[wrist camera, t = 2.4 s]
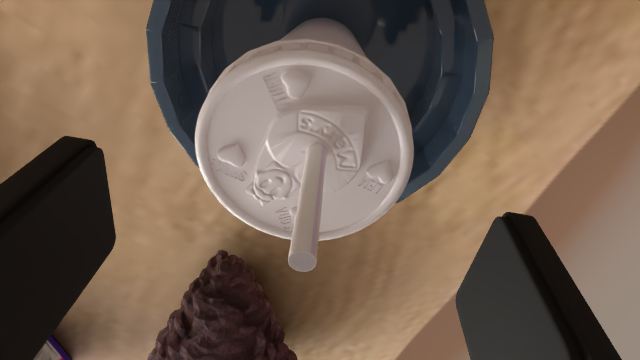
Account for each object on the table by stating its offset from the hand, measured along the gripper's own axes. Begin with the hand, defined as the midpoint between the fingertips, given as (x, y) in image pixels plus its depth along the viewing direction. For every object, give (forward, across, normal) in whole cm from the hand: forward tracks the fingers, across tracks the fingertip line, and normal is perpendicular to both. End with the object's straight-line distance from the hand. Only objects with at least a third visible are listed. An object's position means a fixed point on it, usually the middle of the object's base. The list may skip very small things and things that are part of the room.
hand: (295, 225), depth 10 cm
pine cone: (+13, +3, +20) cm, 24 cm away
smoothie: (+12, 0, -1) cm, 12 cm away
